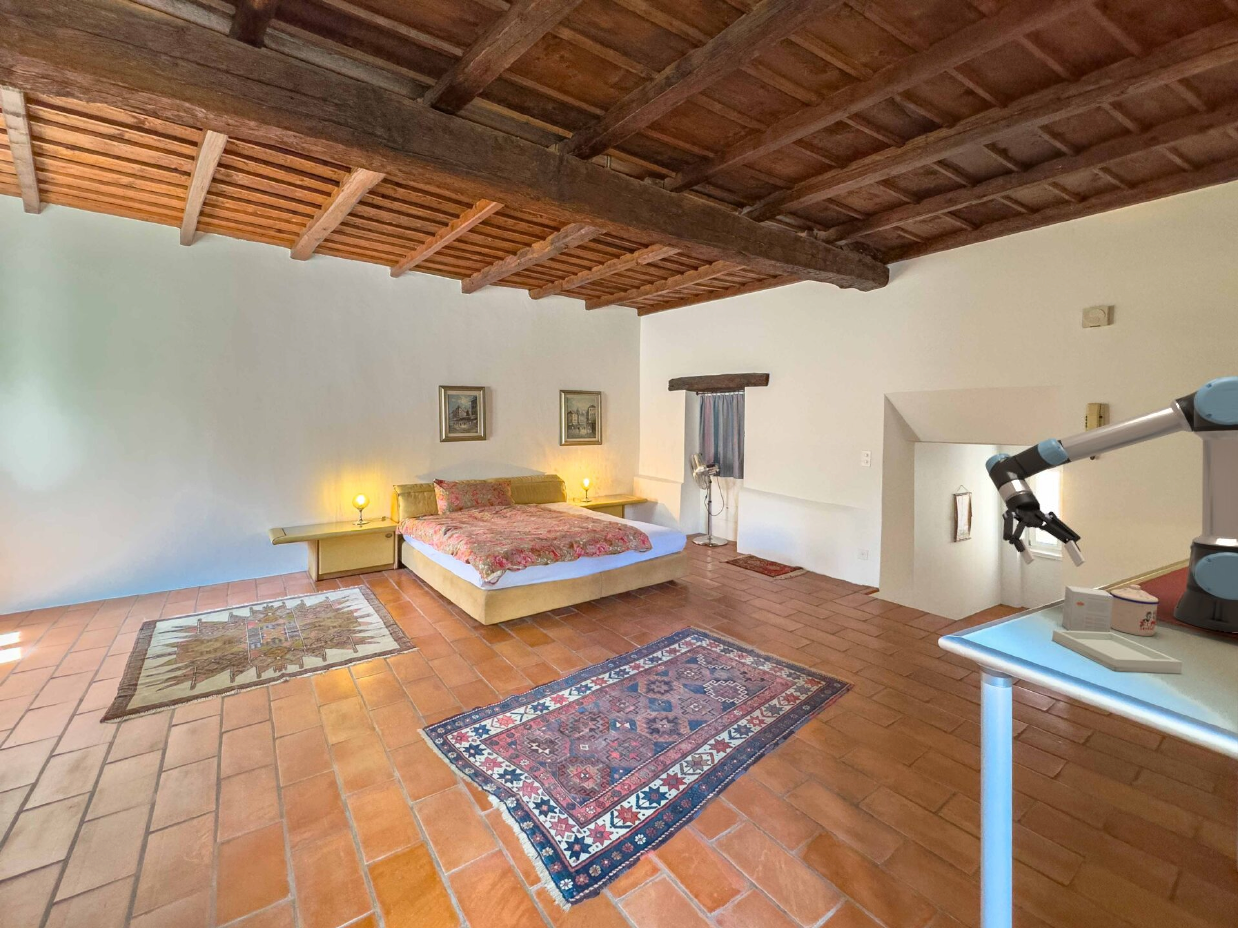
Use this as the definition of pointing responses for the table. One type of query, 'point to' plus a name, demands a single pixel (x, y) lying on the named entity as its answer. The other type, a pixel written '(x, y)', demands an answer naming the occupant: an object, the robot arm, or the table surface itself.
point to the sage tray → (1117, 652)
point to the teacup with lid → (1133, 611)
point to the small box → (1087, 609)
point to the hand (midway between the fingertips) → (1055, 562)
